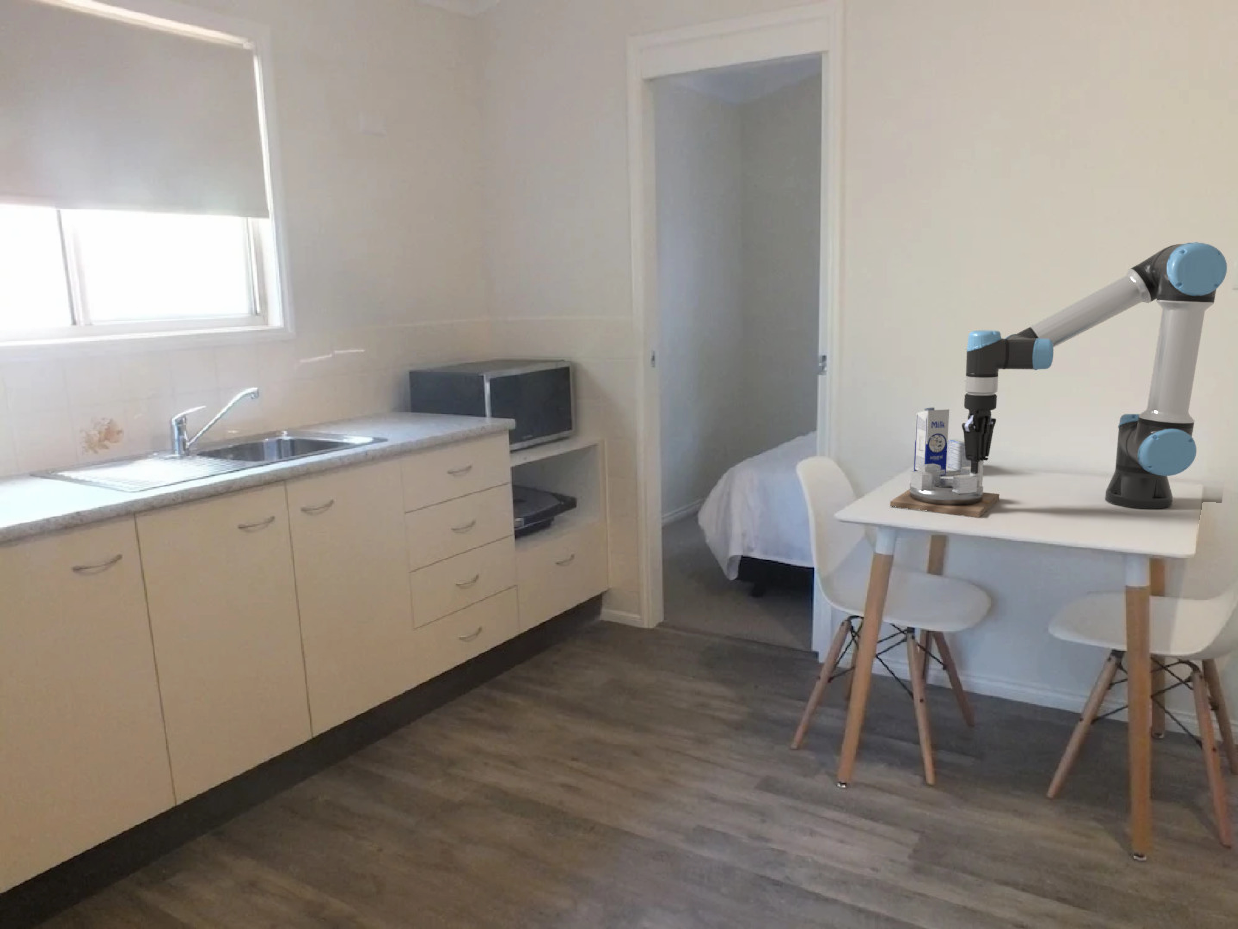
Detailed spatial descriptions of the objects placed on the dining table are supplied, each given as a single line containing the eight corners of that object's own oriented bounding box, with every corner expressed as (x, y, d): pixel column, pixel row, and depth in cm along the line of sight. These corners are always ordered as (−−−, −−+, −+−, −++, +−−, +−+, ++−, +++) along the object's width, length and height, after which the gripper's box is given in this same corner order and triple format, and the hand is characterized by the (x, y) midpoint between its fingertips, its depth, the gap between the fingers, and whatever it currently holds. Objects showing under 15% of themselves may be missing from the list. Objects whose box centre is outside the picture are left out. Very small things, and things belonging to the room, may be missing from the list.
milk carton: (924, 476, 275) (927, 409, 271) (913, 472, 281) (916, 406, 277) (946, 475, 276) (949, 408, 272) (934, 471, 283) (937, 405, 279)
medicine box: (974, 470, 282) (975, 442, 280) (961, 471, 281) (962, 443, 279) (959, 466, 290) (960, 438, 288) (946, 466, 289) (947, 439, 287)
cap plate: (999, 499, 246) (999, 493, 245) (979, 517, 228) (979, 510, 227) (915, 490, 258) (915, 484, 257) (890, 507, 240) (890, 500, 239)
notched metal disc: (977, 507, 230) (978, 480, 229) (902, 500, 239) (904, 474, 237) (987, 492, 246) (988, 467, 244) (917, 486, 254) (918, 461, 253)
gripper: (979, 389, 238) (974, 479, 243) (953, 394, 230) (948, 487, 235) (1008, 391, 232) (1002, 483, 237) (982, 397, 224) (976, 492, 229)
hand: (975, 485), depth 236 cm, fingers closed
